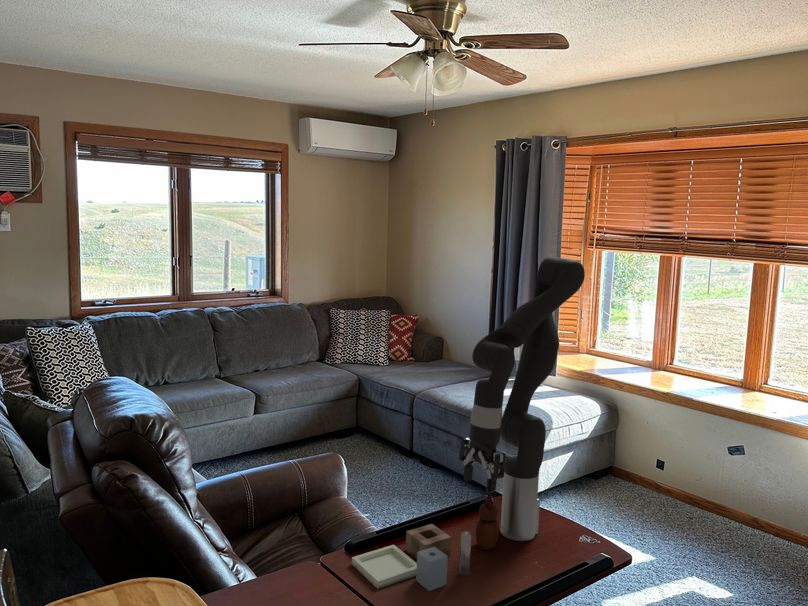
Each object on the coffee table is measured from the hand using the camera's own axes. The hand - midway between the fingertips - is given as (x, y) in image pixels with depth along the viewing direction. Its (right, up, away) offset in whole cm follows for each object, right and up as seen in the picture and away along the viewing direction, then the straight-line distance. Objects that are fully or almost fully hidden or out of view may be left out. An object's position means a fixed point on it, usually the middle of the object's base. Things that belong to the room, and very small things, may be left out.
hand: (478, 486), depth 159 cm
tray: (-23, -18, -6) cm, 30 cm away
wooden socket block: (-13, -17, +2) cm, 21 cm away
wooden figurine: (+3, -17, +6) cm, 19 cm away
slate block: (-12, -19, -11) cm, 25 cm away
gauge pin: (-4, -19, -7) cm, 20 cm away
